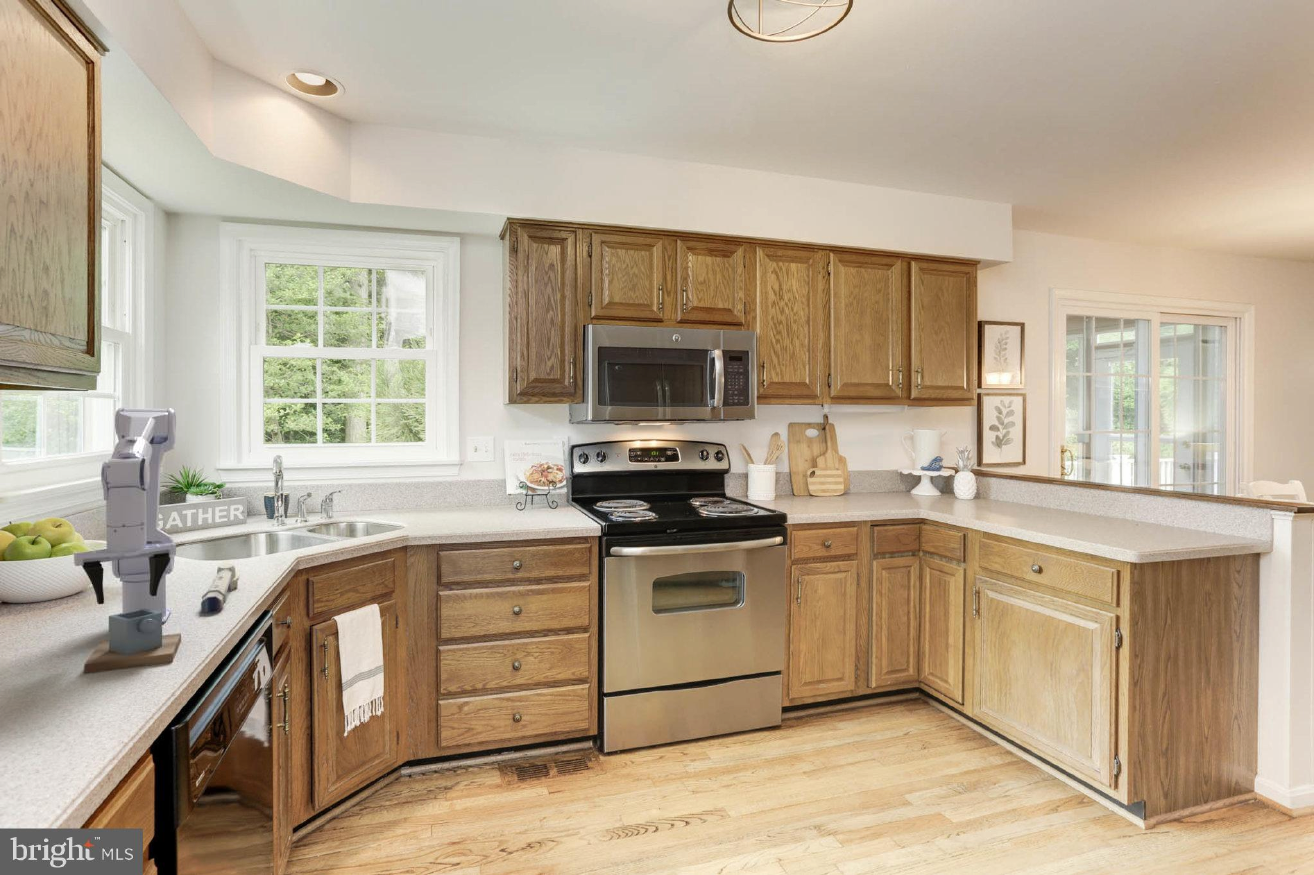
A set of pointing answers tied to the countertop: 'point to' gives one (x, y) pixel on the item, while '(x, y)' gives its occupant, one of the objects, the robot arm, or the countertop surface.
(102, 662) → the base
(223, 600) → the beige flashlight
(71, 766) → the countertop surface
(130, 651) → the duct sleeve
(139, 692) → the countertop surface
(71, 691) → the countertop surface
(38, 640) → the countertop surface
